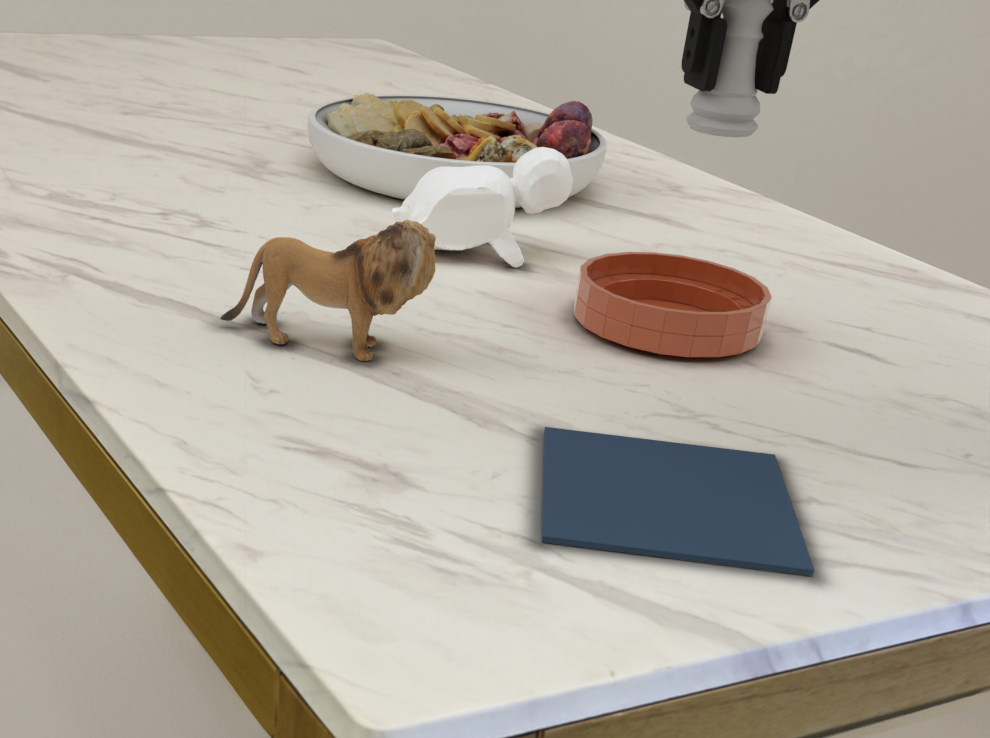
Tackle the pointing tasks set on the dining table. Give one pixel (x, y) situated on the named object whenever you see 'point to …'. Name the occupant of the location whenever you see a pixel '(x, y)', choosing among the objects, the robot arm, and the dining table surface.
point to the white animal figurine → (486, 201)
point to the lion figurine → (343, 278)
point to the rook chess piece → (733, 75)
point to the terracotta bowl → (671, 304)
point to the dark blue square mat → (669, 501)
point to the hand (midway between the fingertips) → (729, 85)
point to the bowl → (445, 138)
